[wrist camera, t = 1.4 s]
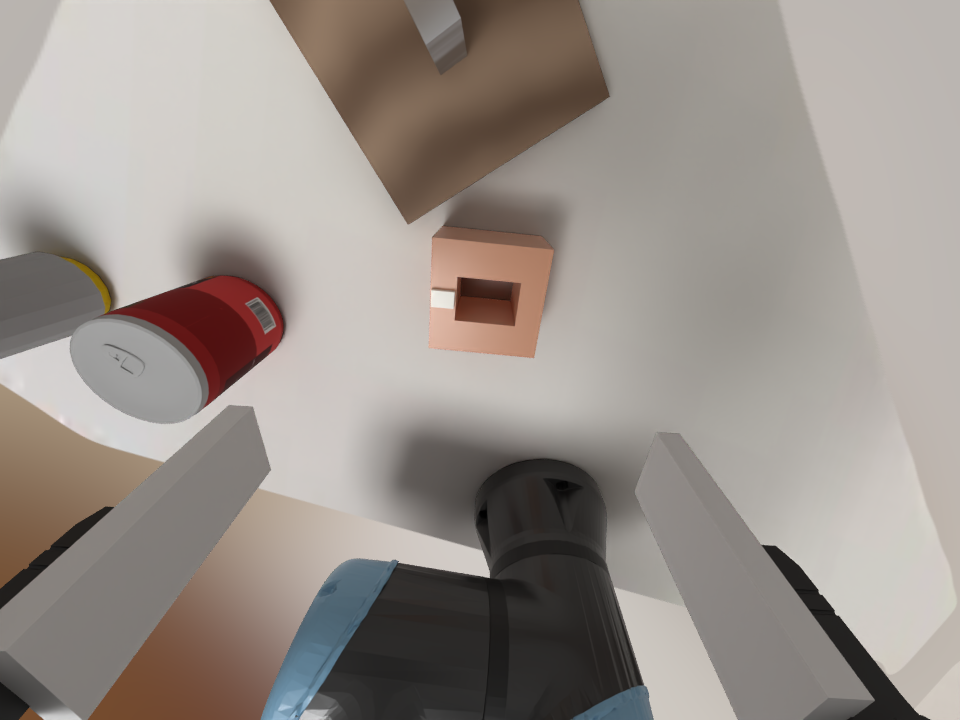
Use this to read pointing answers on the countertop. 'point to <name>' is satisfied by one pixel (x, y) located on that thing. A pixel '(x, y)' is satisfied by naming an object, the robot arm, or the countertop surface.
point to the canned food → (177, 347)
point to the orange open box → (483, 318)
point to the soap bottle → (46, 300)
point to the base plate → (447, 83)
